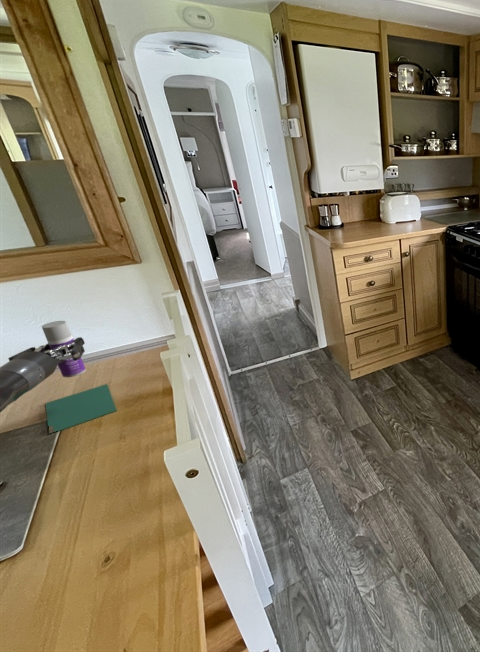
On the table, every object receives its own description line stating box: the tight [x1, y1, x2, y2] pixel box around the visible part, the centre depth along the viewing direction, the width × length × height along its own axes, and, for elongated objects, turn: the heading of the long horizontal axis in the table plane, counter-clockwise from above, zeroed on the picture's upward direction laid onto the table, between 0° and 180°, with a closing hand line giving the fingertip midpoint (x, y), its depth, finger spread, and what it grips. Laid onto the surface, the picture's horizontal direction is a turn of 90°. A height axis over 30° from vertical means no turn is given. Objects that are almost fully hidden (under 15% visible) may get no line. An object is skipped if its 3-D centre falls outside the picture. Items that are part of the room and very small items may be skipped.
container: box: [41, 320, 87, 378], centre depth 102 cm, size 5×5×15 cm
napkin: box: [45, 383, 117, 433], centre depth 105 cm, size 18×13×1 cm
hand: (69, 341), depth 104 cm, fingers closed on container, 4 cm apart
